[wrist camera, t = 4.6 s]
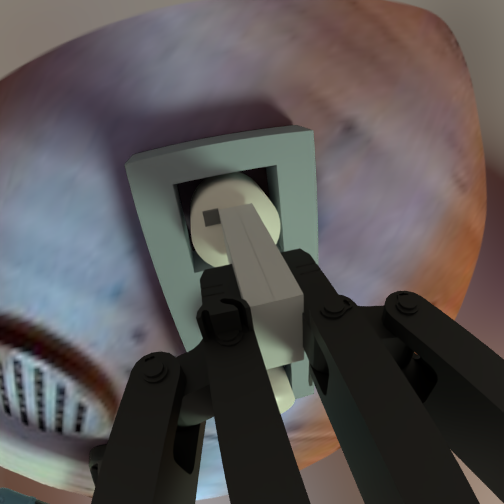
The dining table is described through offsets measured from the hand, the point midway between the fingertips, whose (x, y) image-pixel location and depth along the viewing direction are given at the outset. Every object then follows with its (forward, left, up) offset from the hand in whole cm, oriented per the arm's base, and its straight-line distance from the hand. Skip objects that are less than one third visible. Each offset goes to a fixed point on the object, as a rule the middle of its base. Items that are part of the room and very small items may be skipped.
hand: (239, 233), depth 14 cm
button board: (0, -7, -4) cm, 8 cm away
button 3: (0, 0, -4) cm, 4 cm away
